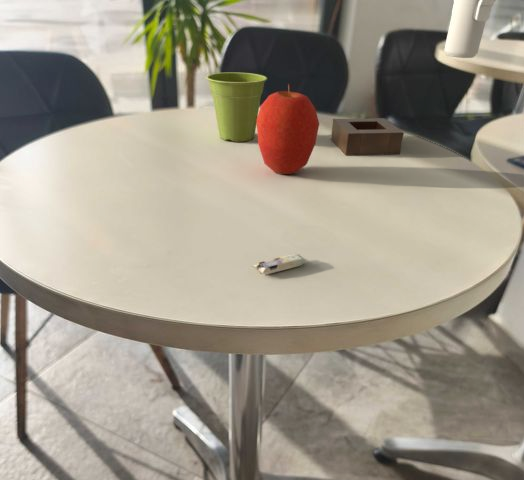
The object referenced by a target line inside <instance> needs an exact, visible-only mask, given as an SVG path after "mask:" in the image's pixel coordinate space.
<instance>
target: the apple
mask: <svg viewBox="0 0 524 480" xmlns="http://www.w3.org/2000/svg"><path fill="white" fill-rule="evenodd" d="M287 88H288V89H287V90H280V91H276V92H273V93H271V94H269V95H268V96H267V98H266V99H265V100H264V101H263V102H262V103H261V105H260V107H259V111H258V117H257V120H256V121H257V123H256V135H257V145H258V148H259V151H260V155H261V157H262V161H263V163H264V165H266V167H268V168H269V169H270V170H271V171H272V172H273V173H275V174H280V175H292V174H295V173H297V172H299V171H300V170H301V169H302V168H304V167H305V166H306V165H307V164H308V163H309V159H310V157H311V155H312V153H313V150H314V148H315V146H316V143H317V139H318V133H319V127H320V120H319V116H318V113H317V109H316V108H315V106H314V105H313V103H312V101H311V99H309V97H308V96H307V95H305V94H303V93H299V92H294V91H290V90H291V89H290V84H288V85H287Z"/></svg>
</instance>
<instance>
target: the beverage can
mask: <svg viewBox="0 0 524 480" xmlns="http://www.w3.org/2000/svg"><path fill="white" fill-rule="evenodd" d="M478 3H479V0H455V3H454V2H453V5H454V8H453V7H452V10H453V12H452V11H451V17H450V22H449V26H448V31H447V35H446V40H445V45H444V49H443V51H444V54H445V56H447V57H452V58H460V59H473V58H475V56H477V54H478V53H479V49H480V46H481V42H482V37H483V33H484V31H485V30H484V29H485V26H486V22H487V21H476V20H473V19H472V14H473V10H474V6H475V5H478Z"/></svg>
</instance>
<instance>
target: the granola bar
mask: <svg viewBox="0 0 524 480" xmlns="http://www.w3.org/2000/svg"><path fill="white" fill-rule="evenodd" d="M308 263H310V261H309V260H308V259H307V258H304V257H303V256H302V255H301V254H296V253H291V254H288V255H283V256H278V257H275V258H271V259H267V260H263V261H260V262H258V263H257V264H253V265H252V266H251V267H252V268H253V269H255V270H256V271H257V272H258V273H259V274H263V275H265V276H266V275H272V274H274V273H278V272H283V271H285V270H290V269H294V268H298V267H300V266H302V265H304V264H308Z"/></svg>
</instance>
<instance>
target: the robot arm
mask: <svg viewBox="0 0 524 480" xmlns="http://www.w3.org/2000/svg"><path fill="white" fill-rule="evenodd" d="M495 2H496V0H479V3H478V5H475V6H474V10H473V14H472V19H473V20H476V21H486V22H487V21H488V20H489V18H490V15H491V12H492V7H493V6H494V4H495ZM454 3H455V0H453V4H452V5H453V6H452V10H451V13H452V12H453V8H454Z"/></svg>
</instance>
